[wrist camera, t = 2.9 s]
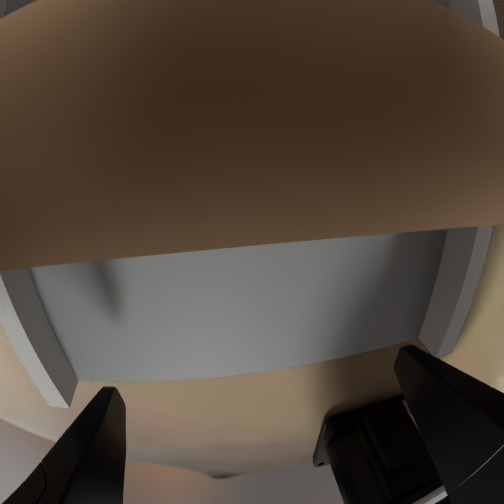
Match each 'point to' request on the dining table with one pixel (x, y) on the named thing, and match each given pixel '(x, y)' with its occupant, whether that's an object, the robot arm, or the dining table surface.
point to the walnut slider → (242, 125)
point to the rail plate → (242, 300)
